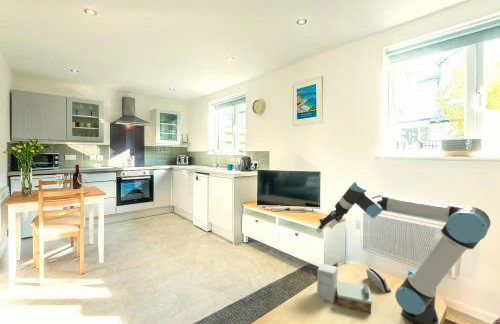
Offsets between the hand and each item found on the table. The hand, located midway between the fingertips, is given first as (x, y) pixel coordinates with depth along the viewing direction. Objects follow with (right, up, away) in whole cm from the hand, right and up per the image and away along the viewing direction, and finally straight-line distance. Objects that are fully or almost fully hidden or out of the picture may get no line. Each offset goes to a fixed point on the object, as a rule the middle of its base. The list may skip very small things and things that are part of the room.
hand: (324, 229), depth 149 cm
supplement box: (-1, -37, -9) cm, 38 cm away
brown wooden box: (+12, -37, -14) cm, 41 cm away
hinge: (+35, -37, +5) cm, 51 cm away
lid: (+12, -31, -14) cm, 36 cm away
